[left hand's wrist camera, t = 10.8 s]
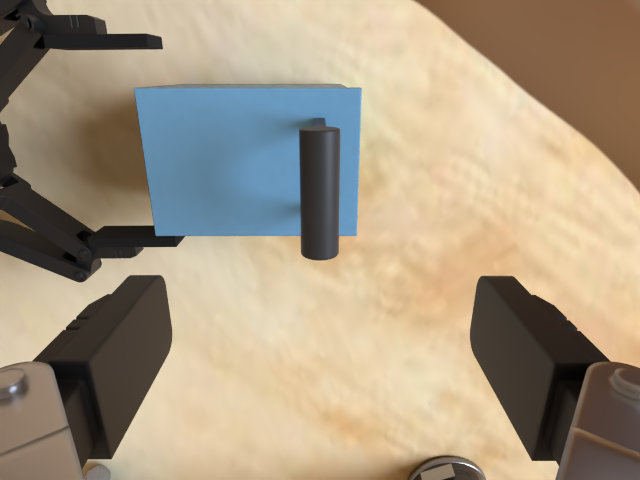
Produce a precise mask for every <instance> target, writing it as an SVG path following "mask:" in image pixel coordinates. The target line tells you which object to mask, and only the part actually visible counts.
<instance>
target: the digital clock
mask: <svg viewBox="0 0 640 480" xmlns="http://www.w3.org/2000/svg"><path fill="white" fill-rule="evenodd" d="M84 480H110V471H109V470H108V469H107V468H106V467H105V466H103V465H97V466H95V467H93V468H92V469H90V470H89V471H87V473H86V475H85V477H84Z"/></svg>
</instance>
